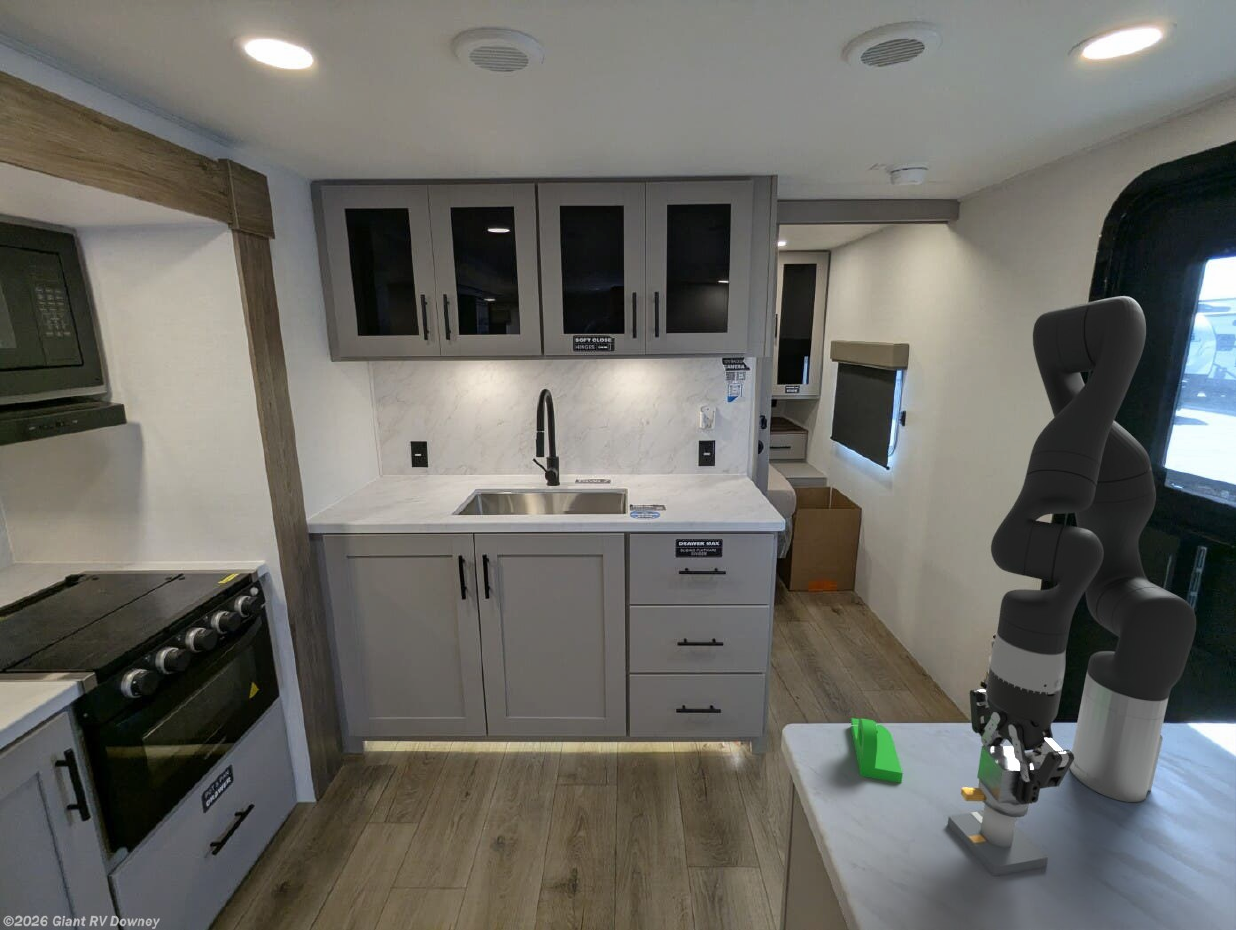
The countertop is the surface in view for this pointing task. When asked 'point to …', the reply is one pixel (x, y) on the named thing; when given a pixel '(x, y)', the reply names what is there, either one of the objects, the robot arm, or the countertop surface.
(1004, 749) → the collar
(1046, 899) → the countertop surface
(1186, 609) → the robot arm
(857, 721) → the mechanical part
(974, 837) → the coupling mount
